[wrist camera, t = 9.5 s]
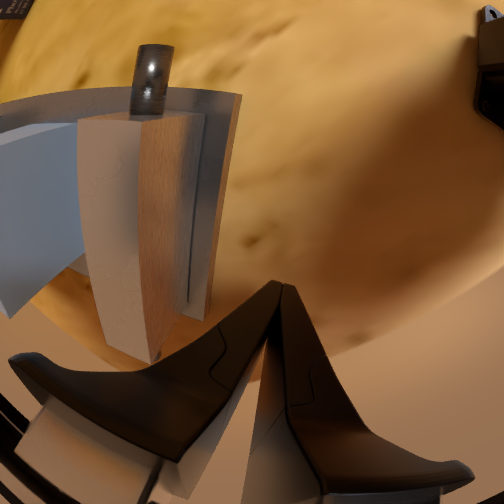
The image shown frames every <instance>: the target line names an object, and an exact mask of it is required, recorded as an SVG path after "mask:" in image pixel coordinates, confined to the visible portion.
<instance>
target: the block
mask: <svg viewBox="0 0 504 504" xmlns="http://www.w3.org/2000/svg"><path fill="white" fill-rule="evenodd" d="M84 252H85V248H84V241H83V234H82V226H81V218H80V208H79V195H78V179H77V123H46V124H31V125H27V126H24V127H20V128H17V129H13V130H10V131H7V132H4V133H1V134H0V311H1V312H3V313H4V314H5V315H6V316H7V317H8V318H9V319H11V318H12V317H13V316H14V315H15V314H16V313H17V312H18V311H19V310H20V309H21V308H22V307H23V306H24V305H25V304H26V303H27V302H28V301H29V300H30V299H31V298H32V297H33V296H34V295H35V294H37V293H38V292H39V291H40V290H41V289H42V288H43V287H44V286H45V285H46V284H48V283H49V282H50V281H51V280H52V279H53V278H54V277H56V276H57V275H58V274H59V273H60V272H61V271H63V270H64V269H65V268H66V267H67V266H68V265H70V264H71V263H72V262H73V261H75V260H76V259H77V258H78V257H79V256H81V255H82V254H83V253H84Z"/></svg>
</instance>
